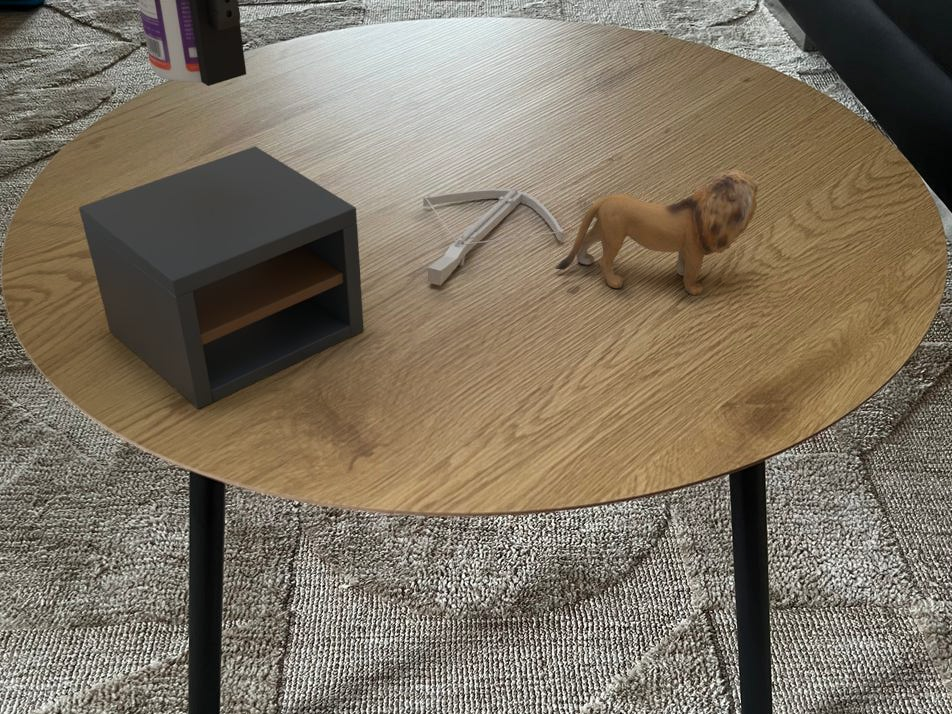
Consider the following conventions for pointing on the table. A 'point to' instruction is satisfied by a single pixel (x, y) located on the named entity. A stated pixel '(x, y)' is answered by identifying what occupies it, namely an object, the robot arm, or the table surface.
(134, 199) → the shelf
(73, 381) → the table surface
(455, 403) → the table surface
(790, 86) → the table surface
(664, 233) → the lion figurine
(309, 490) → the table surface
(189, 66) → the pill bottle
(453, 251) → the crossbow
